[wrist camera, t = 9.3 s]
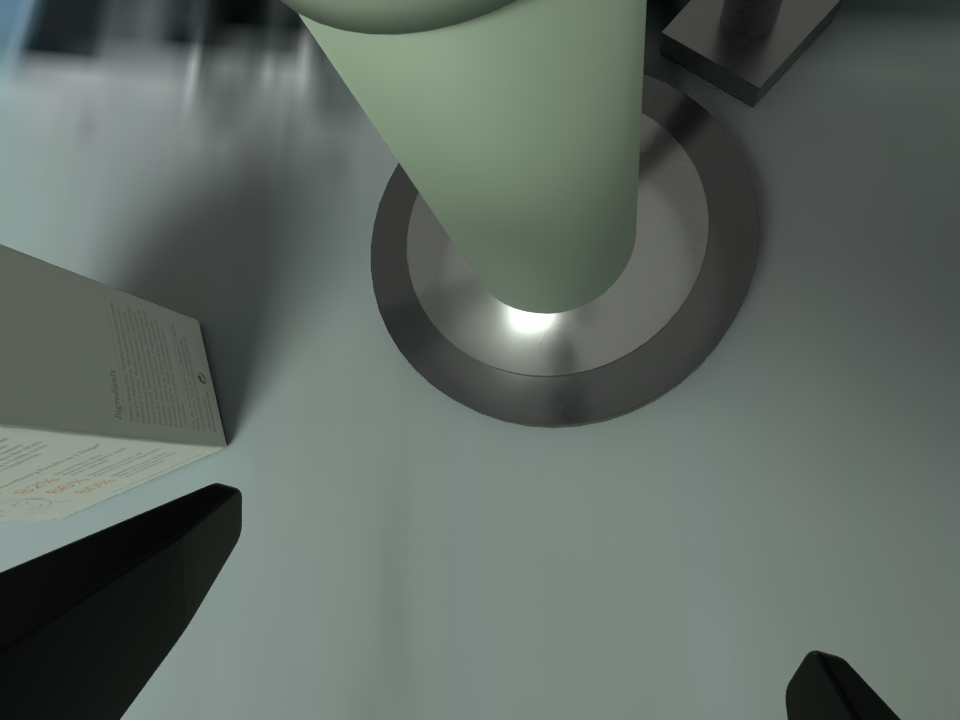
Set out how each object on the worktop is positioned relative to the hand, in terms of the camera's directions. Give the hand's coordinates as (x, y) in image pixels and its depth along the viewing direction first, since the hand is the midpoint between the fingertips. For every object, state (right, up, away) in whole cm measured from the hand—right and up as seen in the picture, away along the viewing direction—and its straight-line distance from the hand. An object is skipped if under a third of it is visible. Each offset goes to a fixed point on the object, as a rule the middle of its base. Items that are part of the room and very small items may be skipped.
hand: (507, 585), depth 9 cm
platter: (+2, +8, +12) cm, 14 cm away
